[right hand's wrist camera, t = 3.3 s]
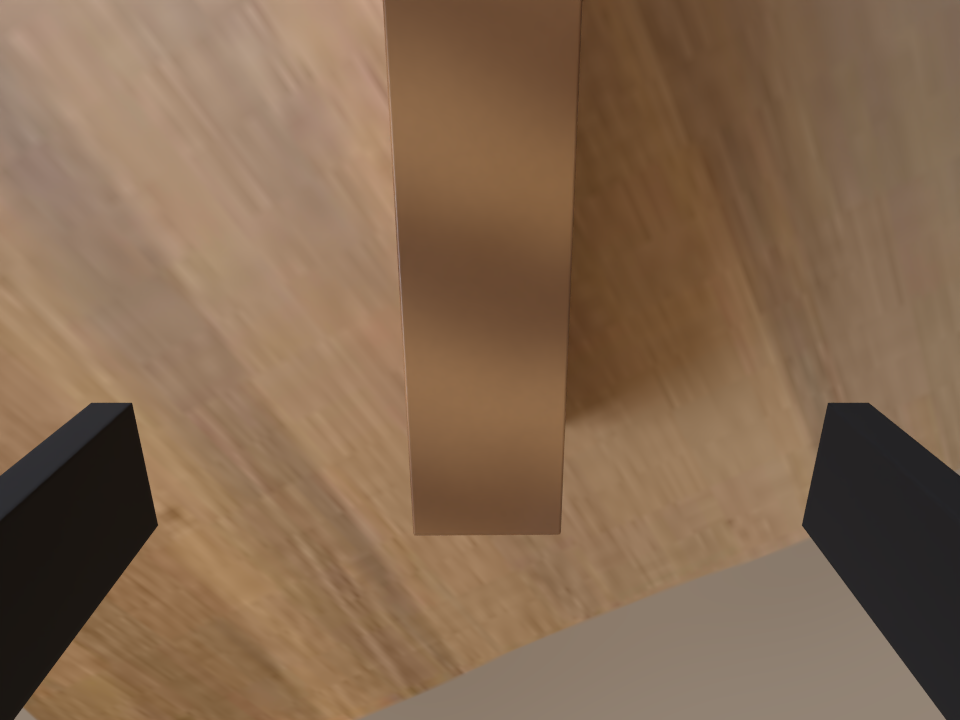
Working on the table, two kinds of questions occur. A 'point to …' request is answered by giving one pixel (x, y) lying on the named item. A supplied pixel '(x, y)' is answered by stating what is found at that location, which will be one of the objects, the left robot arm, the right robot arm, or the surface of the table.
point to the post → (484, 254)
